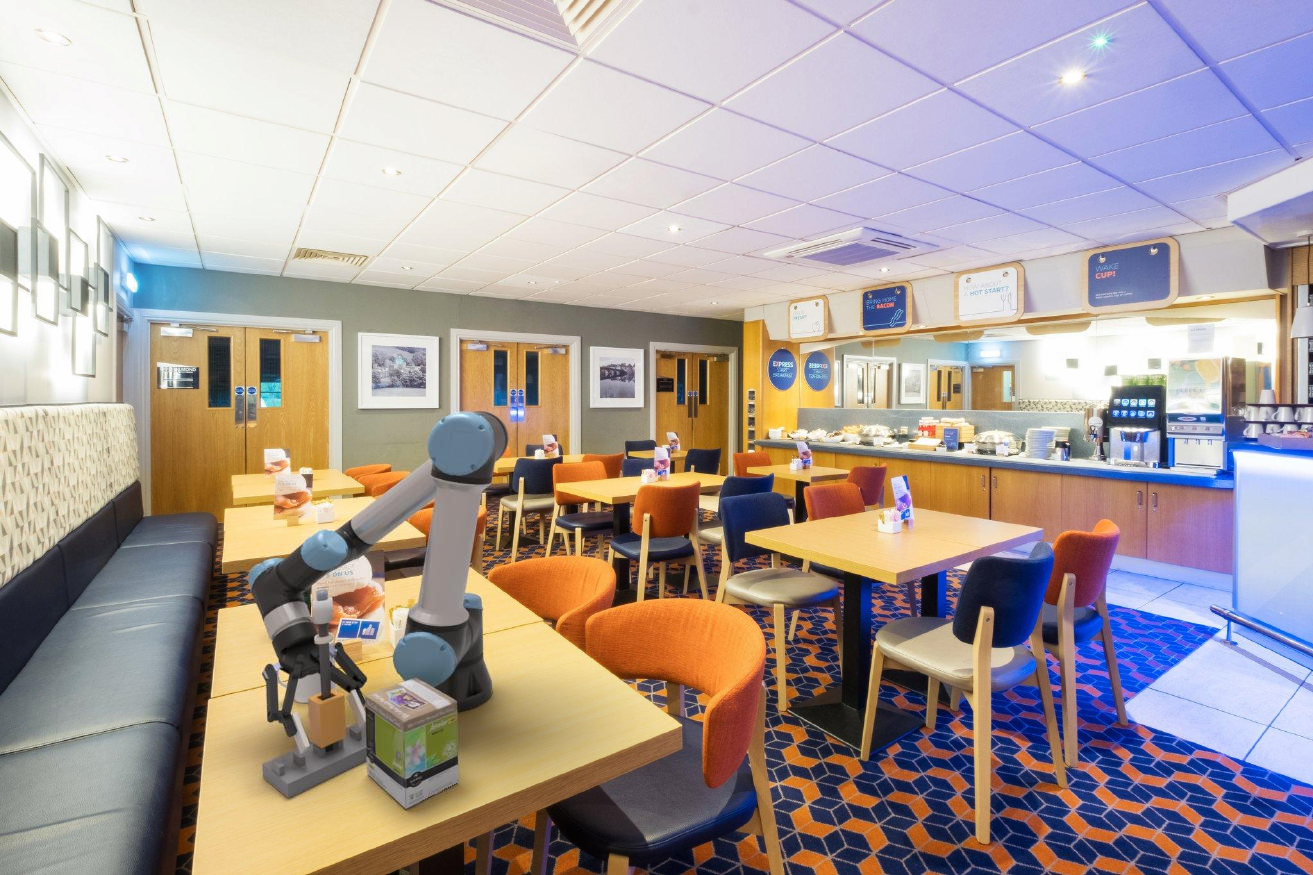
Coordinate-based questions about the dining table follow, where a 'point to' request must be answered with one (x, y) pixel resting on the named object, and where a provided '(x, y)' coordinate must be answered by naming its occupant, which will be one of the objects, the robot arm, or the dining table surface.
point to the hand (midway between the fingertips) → (335, 736)
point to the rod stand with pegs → (316, 763)
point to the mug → (309, 684)
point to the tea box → (411, 740)
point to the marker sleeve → (327, 719)
